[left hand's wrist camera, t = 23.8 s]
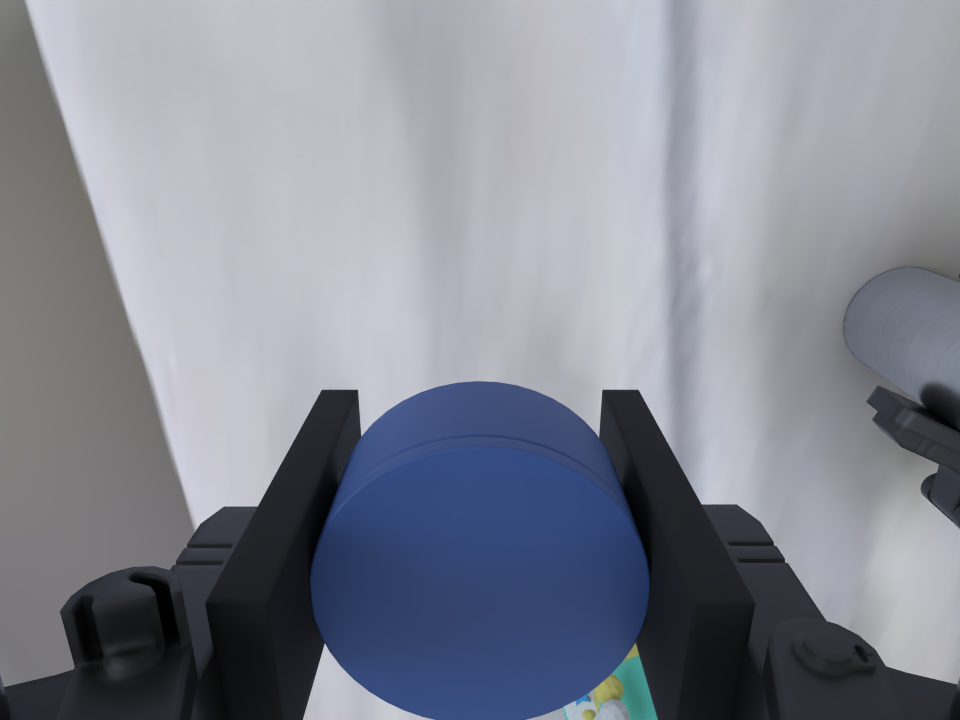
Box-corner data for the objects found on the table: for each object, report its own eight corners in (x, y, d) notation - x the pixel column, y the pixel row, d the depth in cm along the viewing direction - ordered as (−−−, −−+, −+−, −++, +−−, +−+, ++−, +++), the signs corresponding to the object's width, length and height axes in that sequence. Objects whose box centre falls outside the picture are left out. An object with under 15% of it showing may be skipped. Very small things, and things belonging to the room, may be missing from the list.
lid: (678, 506, 13) (722, 594, 10) (483, 663, 14) (484, 772, 12) (475, 320, 11) (473, 375, 9) (281, 512, 13) (239, 603, 10)
